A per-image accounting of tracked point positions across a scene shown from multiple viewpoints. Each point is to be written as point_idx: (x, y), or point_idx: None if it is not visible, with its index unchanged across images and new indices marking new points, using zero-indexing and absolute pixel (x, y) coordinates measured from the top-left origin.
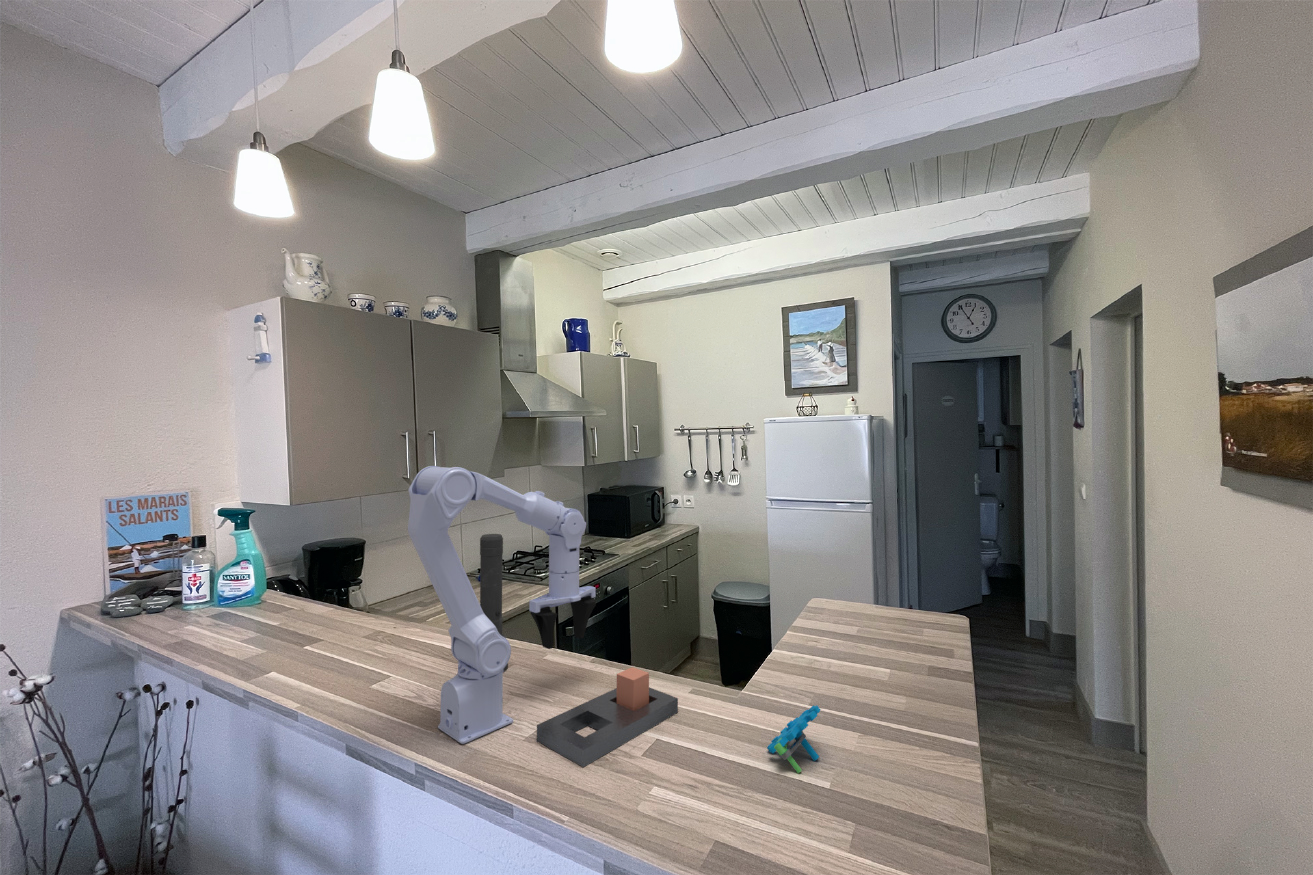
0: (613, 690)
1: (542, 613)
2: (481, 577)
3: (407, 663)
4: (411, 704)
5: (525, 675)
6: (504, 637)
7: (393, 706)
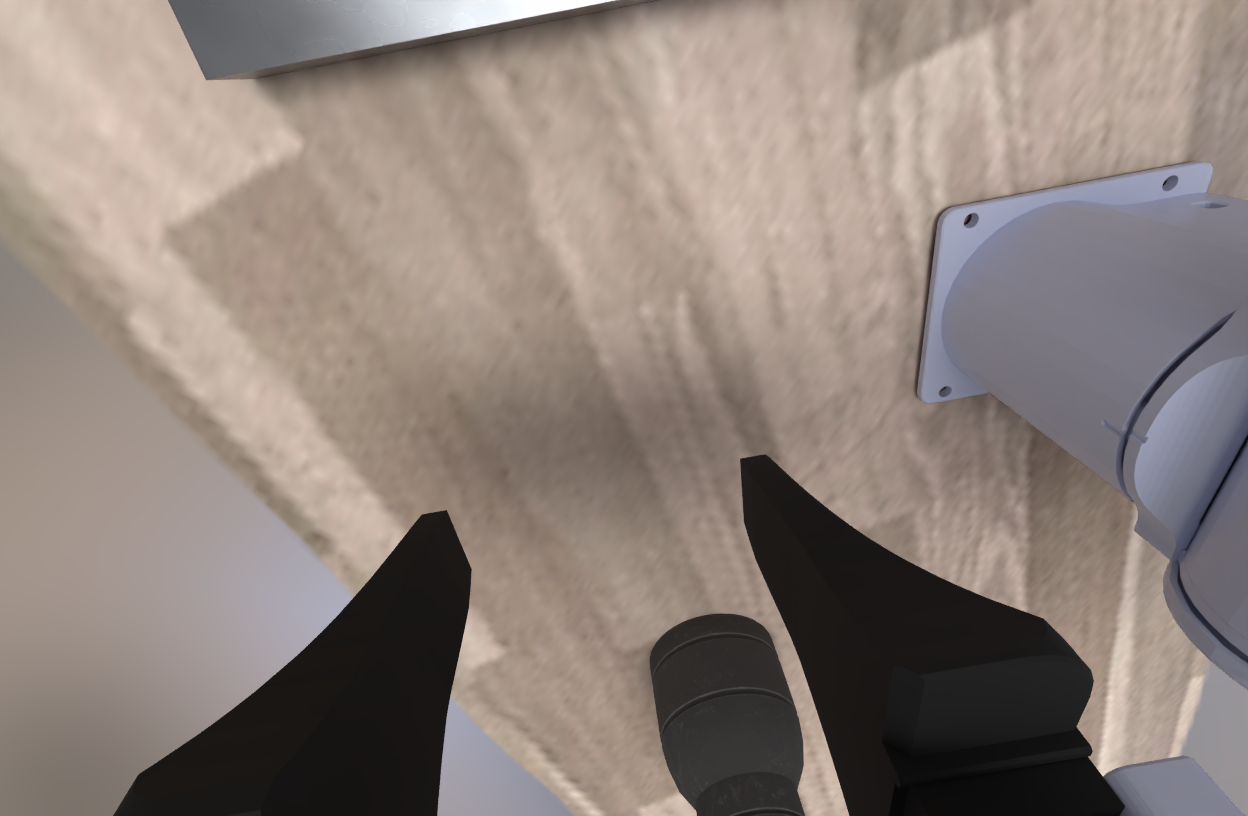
0: (405, 26)
1: (1051, 737)
2: None
3: None
4: (1043, 557)
5: (639, 563)
6: (696, 763)
7: (1081, 570)
